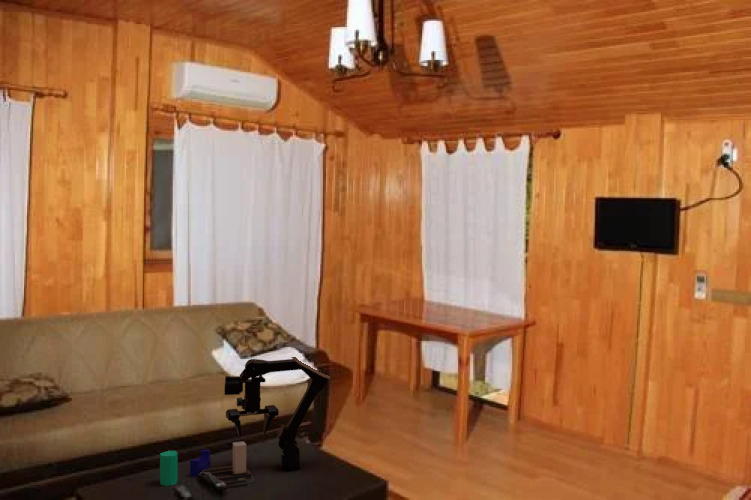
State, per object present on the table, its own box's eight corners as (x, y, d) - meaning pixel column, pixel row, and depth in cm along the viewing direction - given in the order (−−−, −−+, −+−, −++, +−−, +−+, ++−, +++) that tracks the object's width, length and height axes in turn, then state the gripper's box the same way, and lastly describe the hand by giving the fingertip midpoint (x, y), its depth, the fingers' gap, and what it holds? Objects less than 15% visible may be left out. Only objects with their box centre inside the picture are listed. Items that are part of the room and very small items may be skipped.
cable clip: (198, 465, 255) (198, 449, 255) (210, 465, 255) (210, 450, 255) (186, 476, 244) (186, 460, 243) (198, 477, 243) (198, 461, 243)
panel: (246, 470, 250) (246, 465, 250) (254, 482, 239) (254, 476, 239) (208, 475, 244) (208, 470, 244) (214, 488, 233) (214, 482, 233)
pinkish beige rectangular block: (244, 470, 246) (244, 441, 245) (247, 474, 242) (247, 444, 241) (231, 472, 244) (231, 442, 243) (233, 476, 240) (233, 446, 239)
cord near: (246, 484, 237) (246, 481, 237) (247, 485, 236) (247, 482, 236) (228, 487, 234) (228, 483, 234) (228, 488, 233) (228, 484, 233)
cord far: (246, 466, 254) (246, 462, 254) (248, 469, 251) (248, 465, 251) (201, 472, 247) (201, 468, 247) (203, 475, 245) (203, 471, 245)
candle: (161, 487, 233) (161, 452, 233) (158, 481, 239) (158, 447, 238) (179, 484, 236) (179, 450, 236) (175, 478, 241) (175, 445, 241)
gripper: (271, 386, 261) (270, 426, 261) (222, 391, 253) (222, 432, 254) (279, 393, 251) (278, 435, 251) (229, 398, 243) (228, 441, 244)
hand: (252, 435), depth 250 cm, fingers open, 9 cm apart
